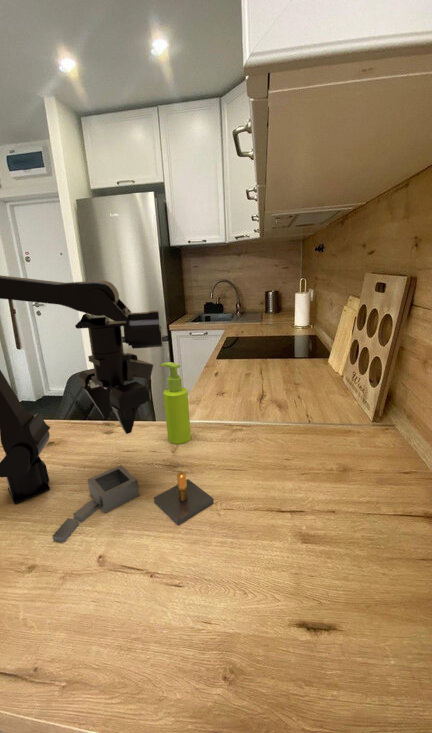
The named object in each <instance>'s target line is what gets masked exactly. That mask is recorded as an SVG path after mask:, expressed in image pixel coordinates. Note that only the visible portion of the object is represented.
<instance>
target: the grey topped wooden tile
mask: <svg viewBox="0 0 432 733" xmlns="http://www.w3.org/2000/svg"><path fill="white" fill-rule="evenodd" d="M99 509H100V507H99V503H97V502H95V500H93V499H90V500H89V501H87V502H86V503H85V504H84V505H83V506H81V507H80V508H78V509H77V510H76V511H75V512H74V513H73V514H72V515H73V519H77V520H78V522H79V523H83V522H84V521H85V520H86V519H88V518H89V517H91V516H92V515H93V514H94V513H95V512H97V511H98V510H99Z"/></svg>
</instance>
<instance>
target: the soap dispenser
mask: <svg viewBox="0 0 432 733" xmlns="http://www.w3.org/2000/svg"><path fill="white" fill-rule="evenodd" d="M159 366H160V367H166V368H168V369H169V373H170V375H169V376H168V377H167V378H166V380H167V381H166V382H167V389H166V388H165V389H164V390H163V404H164V411H165V422H166V433H167V441H168V442H169V443H171V444H174V445H182V444H185V443H187V442H189V441H190V440H191V438H192V436H191V435H192V433H191V421H190V408H189V394H188V389H187V388H186V387H183V382H182V376H181V375H178V368H180V367H181V365H180V364H178V363H176V362H172V361H166V362H163V363H161V364H159Z"/></svg>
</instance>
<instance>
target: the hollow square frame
mask: <svg viewBox="0 0 432 733" xmlns="http://www.w3.org/2000/svg"><path fill="white" fill-rule="evenodd" d="M87 484H88V489H89V495H90V497H91V498H92V500H93V501H95V502H97V503H99V509H101V510H102V512H103V513H104V514H107V513H108V512H111V511H113V510H114V509H117V508H119V507H121V506H122V505H124V504H126V503H128V502H131V501H132V500H134V499H136V498H138V497H140V491H139V484H138V479H137V478H136V477H135V476H134V475H133V474H131V472H130V471H128V470H127V468H126V467H124V466H123V465H122V464H120V465H117V466H115V467H113V468H111V469H108V470H106V471H103V472H102V473H99V474H98V475H95V476H92V477H90V478H88V479H87Z"/></svg>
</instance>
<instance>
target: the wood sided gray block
mask: <svg viewBox="0 0 432 733" xmlns="http://www.w3.org/2000/svg"><path fill="white" fill-rule="evenodd" d="M79 523H80V522H79V521H78V520H77V519H74V518H69V517H67V519H66V520H65V521H64V522H63V523H62V524H61V525H60V527H59V528H58V529H56V531H55V532H54V533H53V535H52V539H53V542H56V543H62V542H65V543H66V541H67V540H68V539H69V538H70V537H71V535H72V534H73V533H74V532H75V531H76V529H77V528H78V527H79V525H80V524H79ZM72 532H73V533H72ZM71 533H72V534H71ZM68 537H69V538H68ZM67 538H68V539H67ZM66 539H67V540H66Z"/></svg>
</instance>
